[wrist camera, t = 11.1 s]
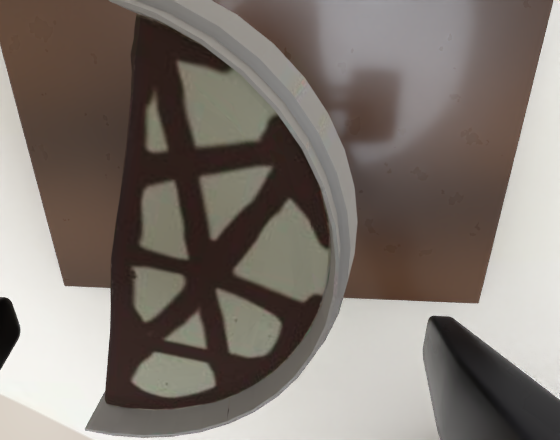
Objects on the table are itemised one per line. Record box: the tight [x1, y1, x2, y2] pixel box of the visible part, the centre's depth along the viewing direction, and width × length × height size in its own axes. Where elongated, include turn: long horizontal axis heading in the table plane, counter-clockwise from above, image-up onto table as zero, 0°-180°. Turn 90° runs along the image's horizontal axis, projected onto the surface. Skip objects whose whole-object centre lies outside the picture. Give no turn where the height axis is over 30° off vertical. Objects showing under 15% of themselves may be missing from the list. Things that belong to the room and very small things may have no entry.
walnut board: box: [0, 0, 553, 303], centre depth 19 cm, size 14×22×1 cm, turn 90°
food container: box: [85, 0, 357, 438], centre depth 14 cm, size 12×6×10 cm, turn 166°
